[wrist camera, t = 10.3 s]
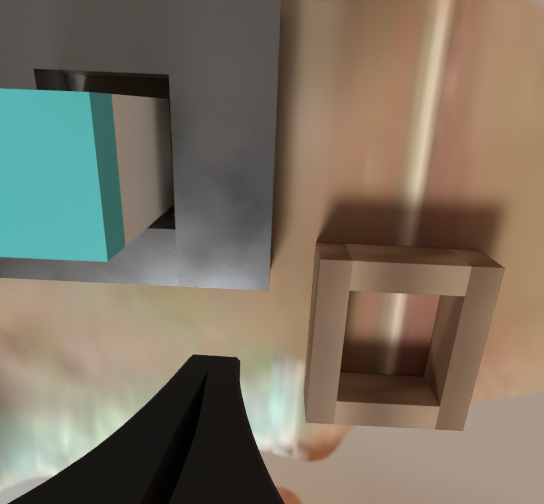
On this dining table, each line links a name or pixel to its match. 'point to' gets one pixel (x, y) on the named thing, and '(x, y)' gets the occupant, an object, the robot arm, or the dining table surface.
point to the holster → (443, 349)
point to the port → (184, 125)
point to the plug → (80, 172)
